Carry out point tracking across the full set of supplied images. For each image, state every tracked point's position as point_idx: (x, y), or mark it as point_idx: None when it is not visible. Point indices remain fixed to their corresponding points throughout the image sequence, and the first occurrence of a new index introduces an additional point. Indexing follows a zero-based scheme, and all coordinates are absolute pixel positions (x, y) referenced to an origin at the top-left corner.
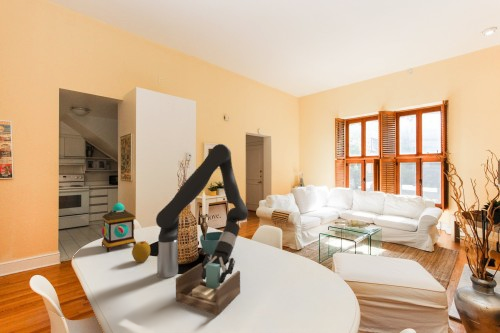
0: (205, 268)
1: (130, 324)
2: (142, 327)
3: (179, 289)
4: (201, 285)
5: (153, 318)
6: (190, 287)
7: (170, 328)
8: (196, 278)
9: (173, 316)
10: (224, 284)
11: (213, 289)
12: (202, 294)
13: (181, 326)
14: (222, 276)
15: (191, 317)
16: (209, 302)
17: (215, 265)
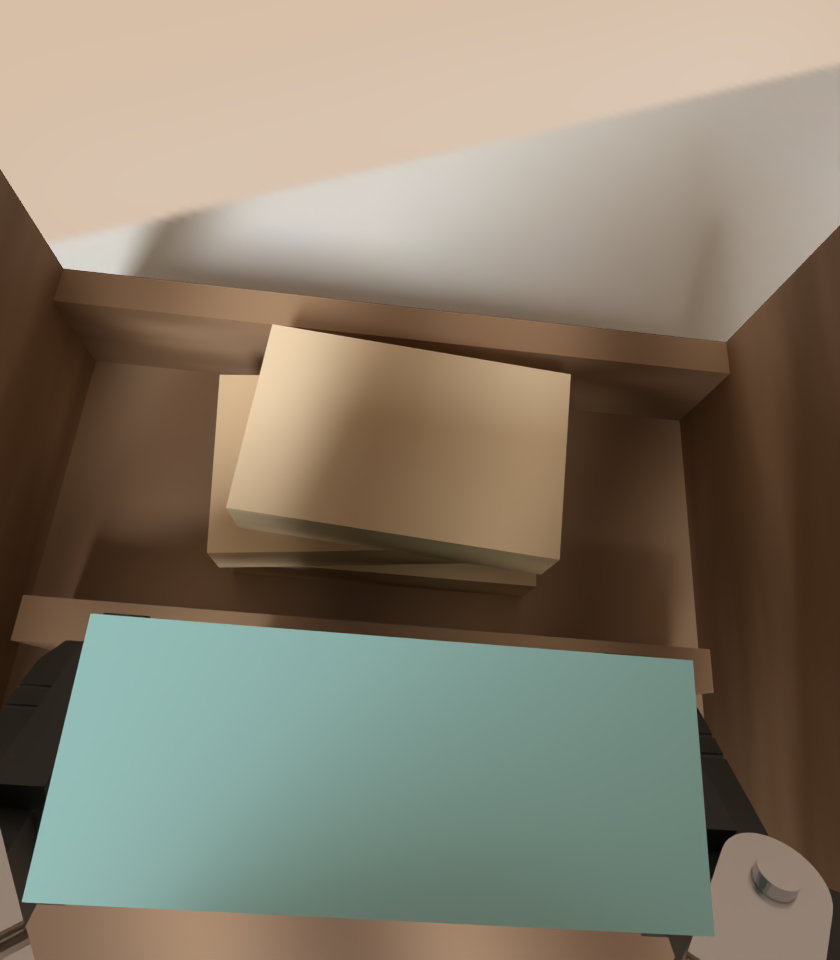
0: (728, 845)
1: (793, 112)
2: (681, 109)
3: (758, 347)
4: (521, 553)
5: (701, 203)
6: (737, 615)
7: (468, 148)
8: (812, 793)
9: (562, 268)
10: None
11: (233, 504)
12: (346, 341)
13: (396, 186)
14: (42, 726)
15: (387, 301)
16: (191, 304)
17: (217, 701)
